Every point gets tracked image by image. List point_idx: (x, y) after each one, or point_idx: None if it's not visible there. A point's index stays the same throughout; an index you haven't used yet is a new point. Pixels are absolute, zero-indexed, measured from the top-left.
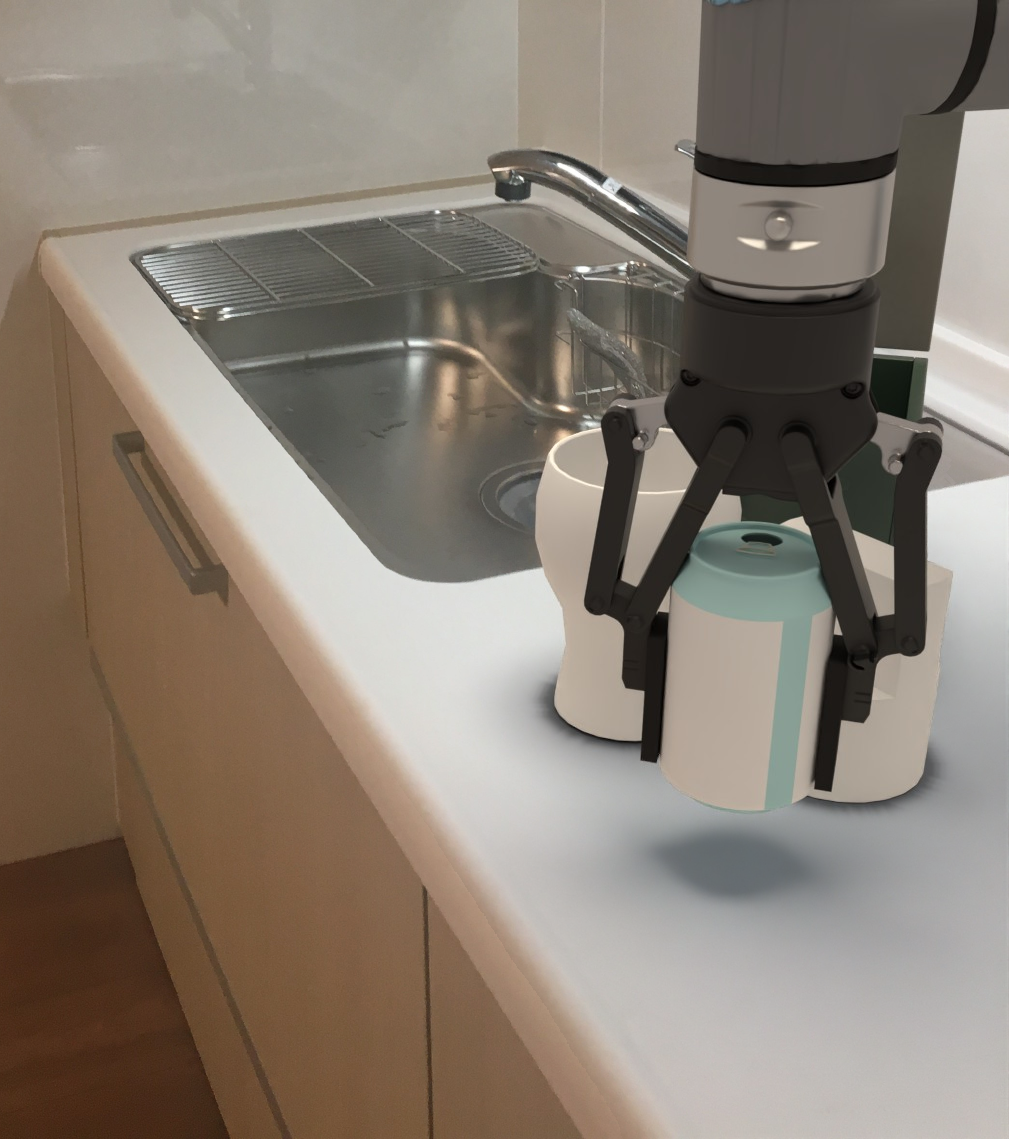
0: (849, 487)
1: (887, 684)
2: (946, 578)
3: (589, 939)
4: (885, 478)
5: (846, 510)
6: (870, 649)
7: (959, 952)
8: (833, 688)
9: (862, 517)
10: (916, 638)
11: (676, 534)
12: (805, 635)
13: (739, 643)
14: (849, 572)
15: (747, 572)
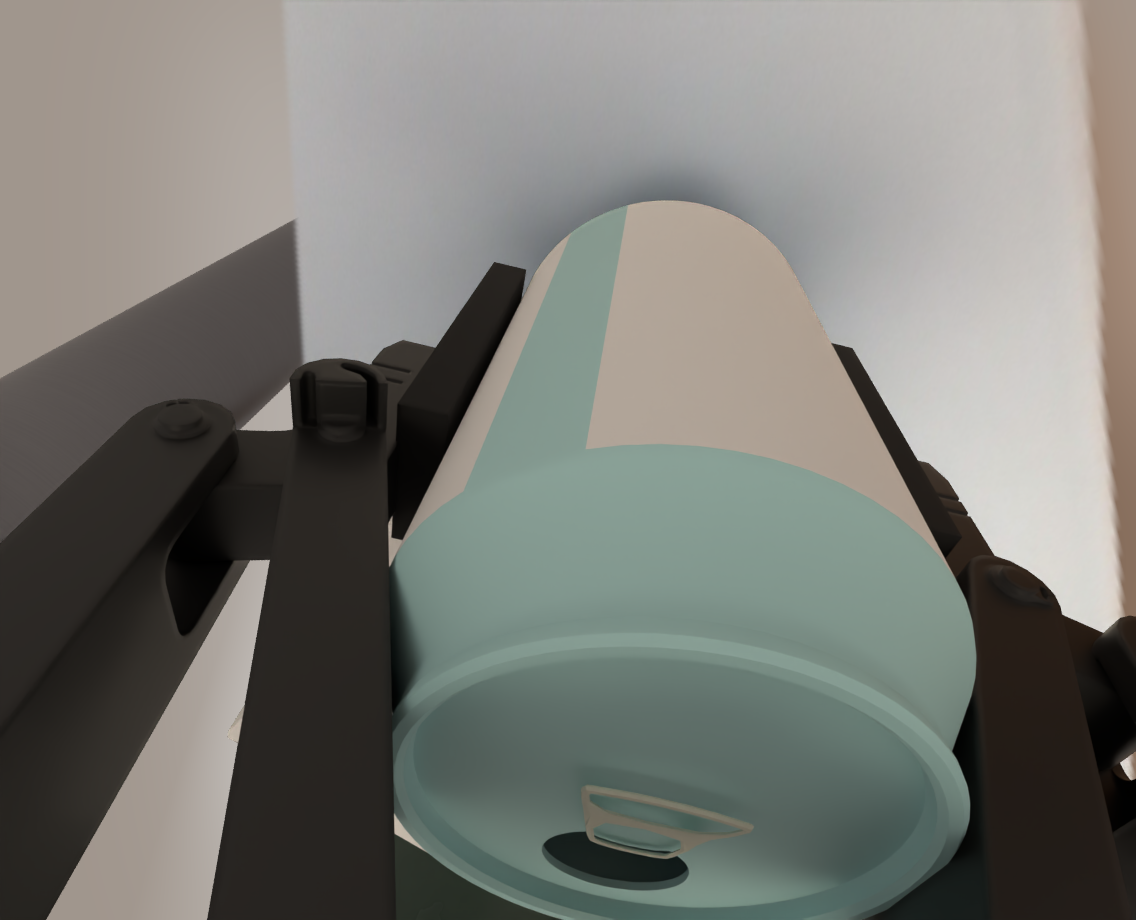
0: (416, 914)
1: (392, 548)
2: (236, 721)
3: (950, 16)
4: None
5: (429, 870)
6: (315, 431)
7: (338, 75)
8: (449, 372)
9: (409, 855)
10: (148, 432)
11: None
12: (501, 433)
13: (755, 398)
14: (273, 667)
15: (731, 700)
